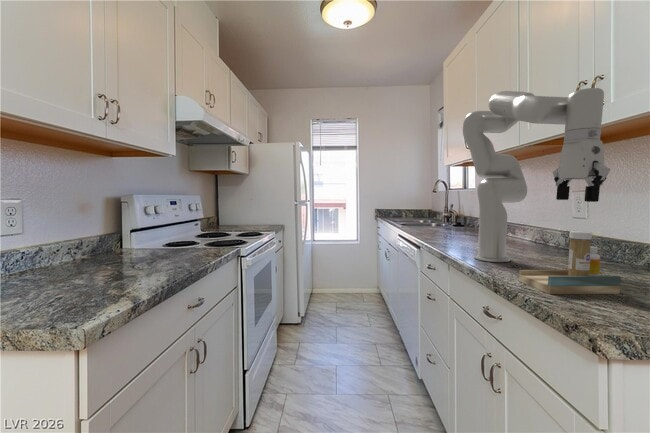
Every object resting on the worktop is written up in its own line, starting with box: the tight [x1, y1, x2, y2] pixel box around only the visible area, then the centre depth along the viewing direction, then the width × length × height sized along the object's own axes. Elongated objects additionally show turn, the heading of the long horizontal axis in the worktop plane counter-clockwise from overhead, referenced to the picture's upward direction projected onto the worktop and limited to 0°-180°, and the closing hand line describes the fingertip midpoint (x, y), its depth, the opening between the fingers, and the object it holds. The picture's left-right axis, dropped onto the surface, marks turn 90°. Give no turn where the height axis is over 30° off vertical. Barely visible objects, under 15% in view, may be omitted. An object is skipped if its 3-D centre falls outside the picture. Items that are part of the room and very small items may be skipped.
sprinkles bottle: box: [568, 230, 593, 276], centre depth 81 cm, size 5×5×14 cm
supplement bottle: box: [589, 245, 601, 276], centre depth 91 cm, size 5×5×10 cm
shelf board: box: [518, 269, 622, 295], centre depth 83 cm, size 12×18×4 cm, turn 91°
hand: (576, 200), depth 84 cm, fingers open, 9 cm apart
